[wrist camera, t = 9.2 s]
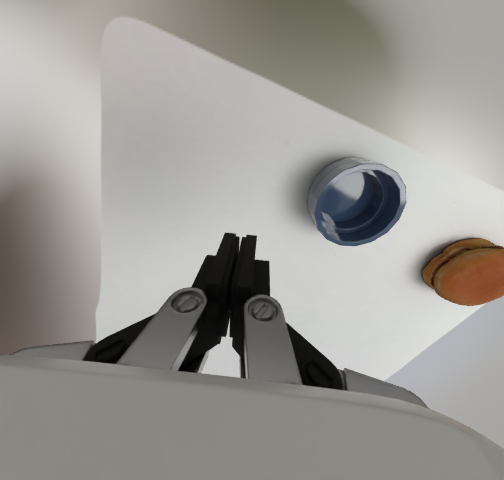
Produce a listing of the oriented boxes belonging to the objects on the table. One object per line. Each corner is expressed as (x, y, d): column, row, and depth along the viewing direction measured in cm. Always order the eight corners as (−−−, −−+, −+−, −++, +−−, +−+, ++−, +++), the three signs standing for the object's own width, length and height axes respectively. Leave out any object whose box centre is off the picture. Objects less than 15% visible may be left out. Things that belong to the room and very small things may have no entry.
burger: (410, 286, 32) (432, 309, 28) (439, 235, 28) (470, 253, 23) (473, 291, 32) (504, 314, 28) (513, 240, 27) (557, 259, 23)
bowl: (313, 156, 24) (324, 162, 19) (393, 158, 23) (422, 165, 19) (302, 226, 28) (308, 243, 24) (368, 229, 28) (387, 248, 23)
